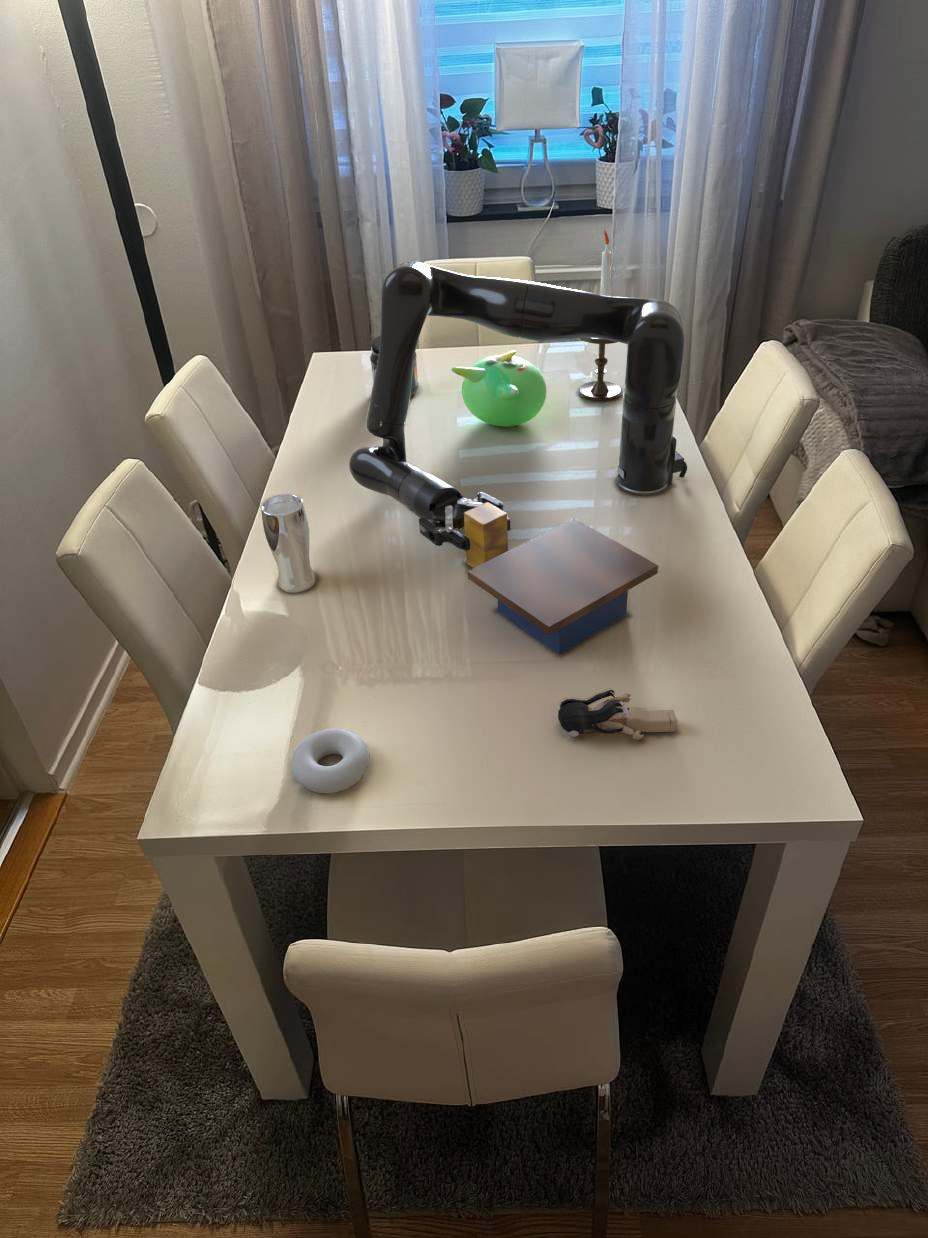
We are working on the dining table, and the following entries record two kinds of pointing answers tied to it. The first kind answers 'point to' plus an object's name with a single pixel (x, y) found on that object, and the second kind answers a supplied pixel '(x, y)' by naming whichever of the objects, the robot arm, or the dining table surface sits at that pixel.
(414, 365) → the supplement container
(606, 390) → the candlestick
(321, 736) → the donut
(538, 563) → the board
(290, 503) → the beer glass
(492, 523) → the block
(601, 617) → the blue box
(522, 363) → the toy bird
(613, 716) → the toy figure
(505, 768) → the dining table surface
